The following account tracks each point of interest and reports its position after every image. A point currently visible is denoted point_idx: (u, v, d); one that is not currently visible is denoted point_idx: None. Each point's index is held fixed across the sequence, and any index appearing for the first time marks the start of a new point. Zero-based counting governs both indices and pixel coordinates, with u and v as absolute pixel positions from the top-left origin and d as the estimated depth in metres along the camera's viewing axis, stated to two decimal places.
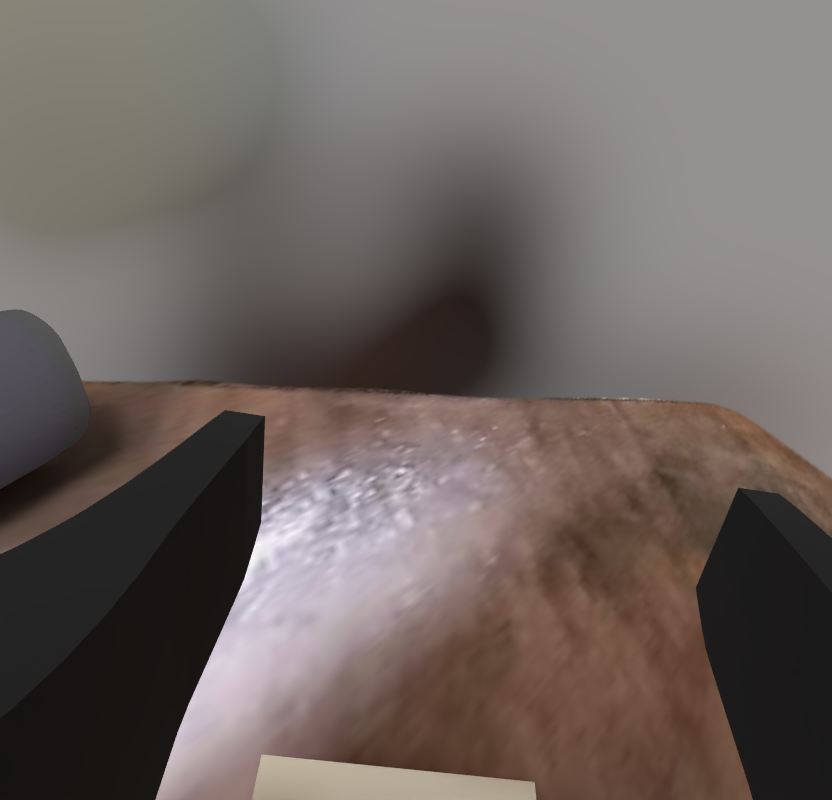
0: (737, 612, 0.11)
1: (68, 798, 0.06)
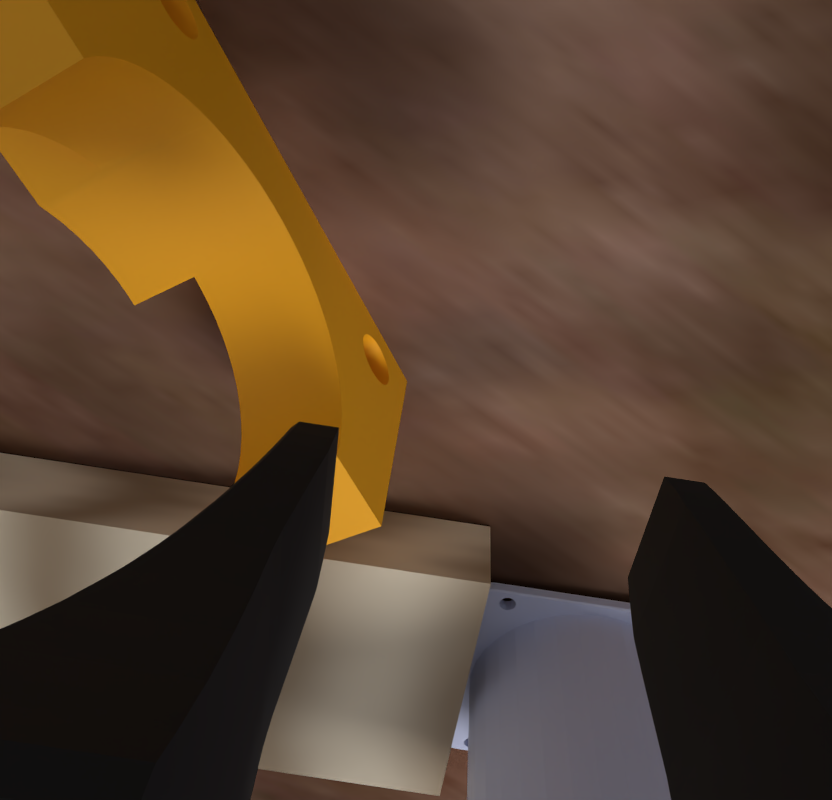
0: (660, 600, 0.11)
1: None
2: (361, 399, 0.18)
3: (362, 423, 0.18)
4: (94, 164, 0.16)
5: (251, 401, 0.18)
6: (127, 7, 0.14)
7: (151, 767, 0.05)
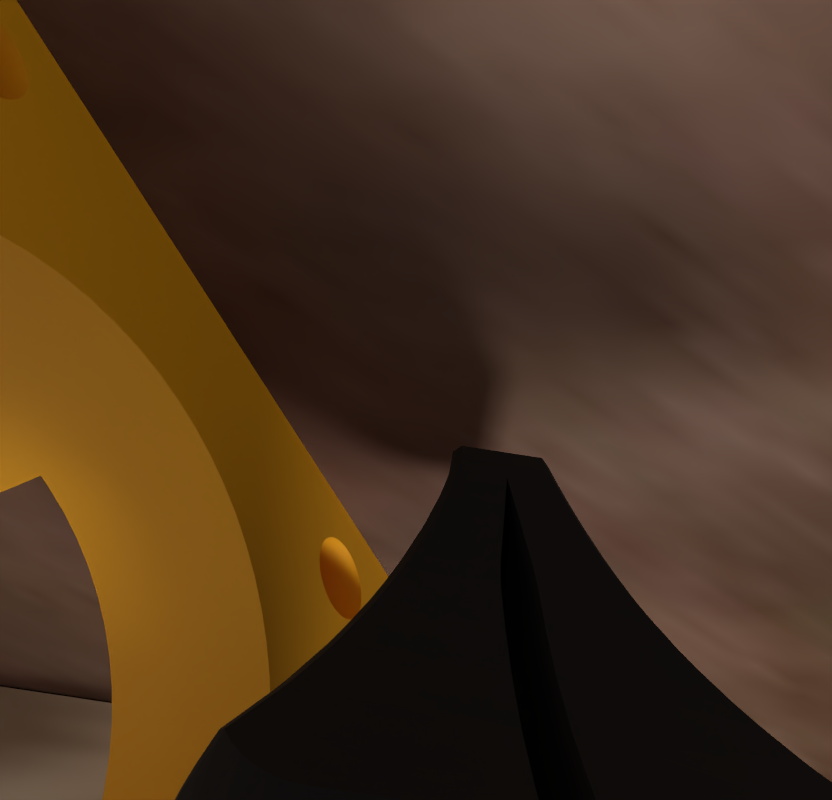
0: None
1: None
2: None
3: None
4: None
5: (129, 686, 0.11)
6: None
7: None
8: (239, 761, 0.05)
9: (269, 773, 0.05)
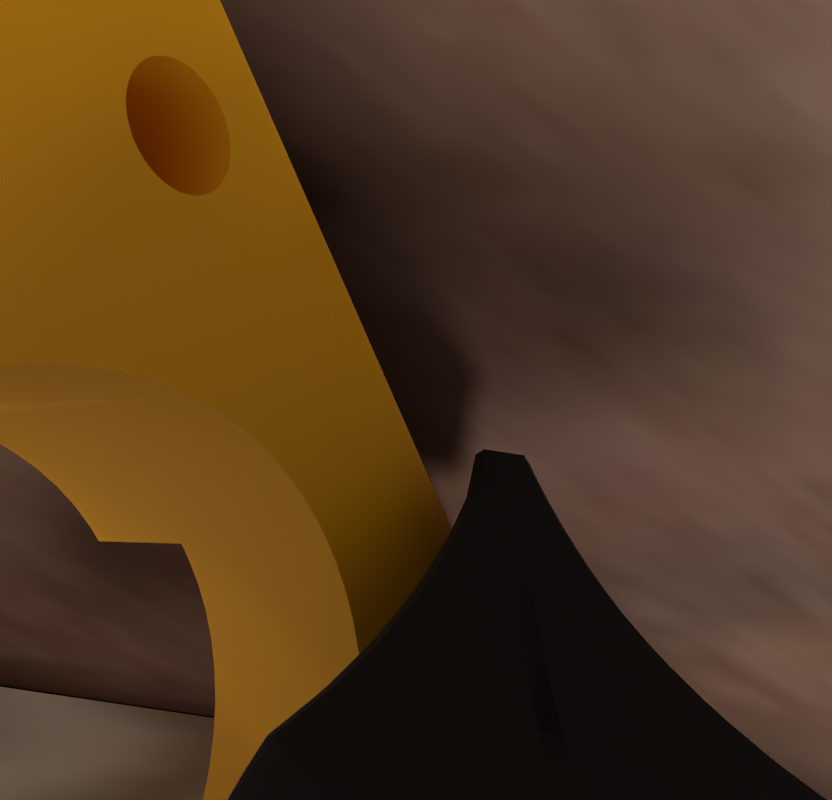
0: None
1: None
2: None
3: None
4: None
5: (225, 773, 0.11)
6: None
7: None
8: (290, 769, 0.05)
9: (322, 781, 0.05)
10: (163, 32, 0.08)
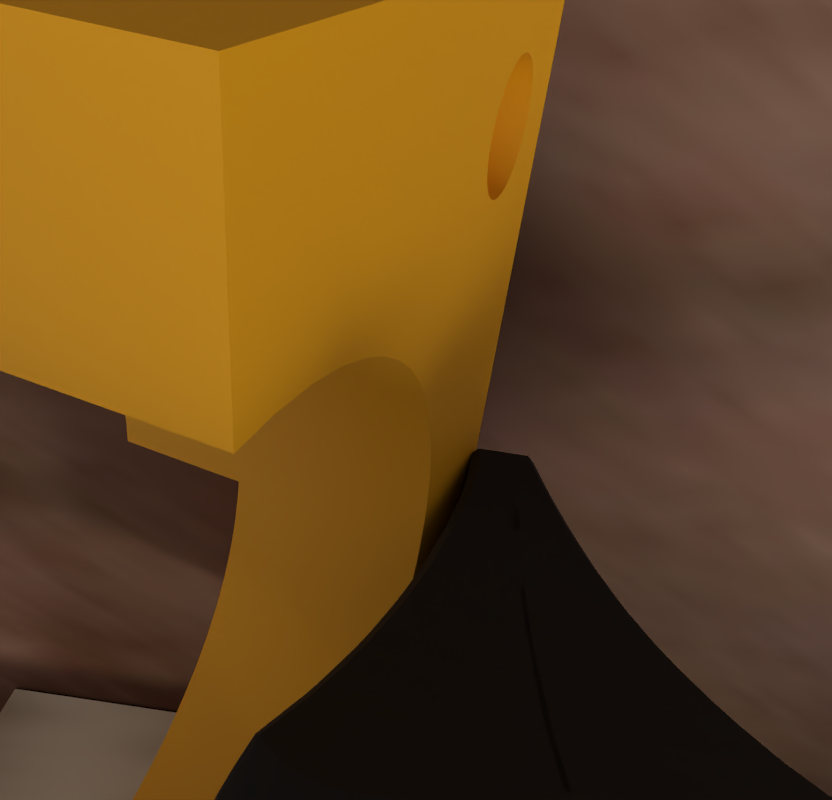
0: None
1: None
2: None
3: None
4: None
5: (201, 711, 0.11)
6: (427, 186, 0.06)
7: None
8: (278, 767, 0.05)
9: (308, 780, 0.05)
10: (536, 29, 0.07)
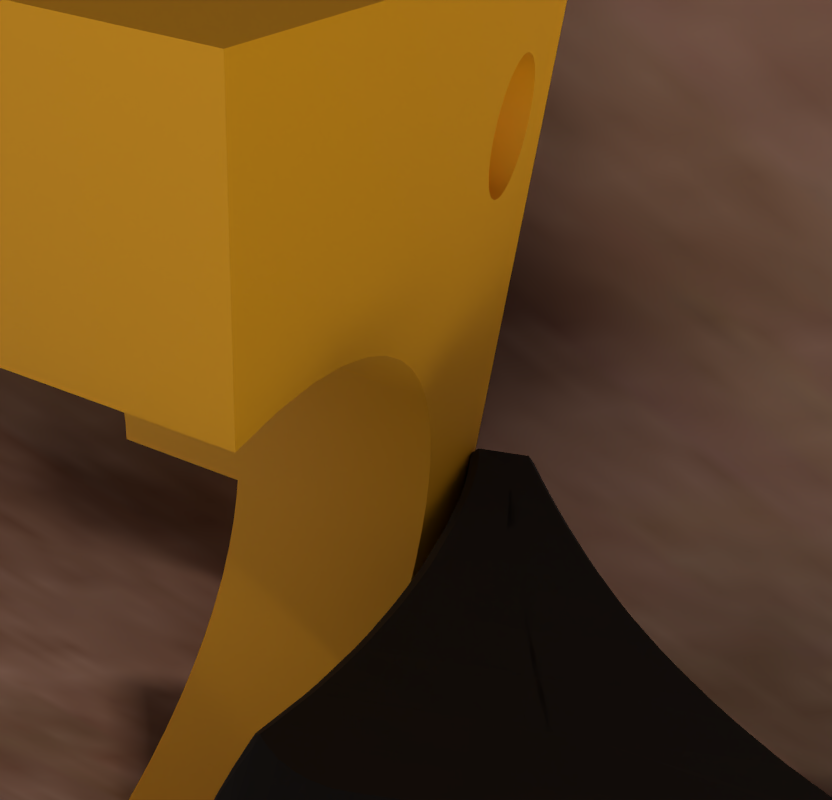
0: None
1: None
2: None
3: None
4: None
5: (198, 710, 0.11)
6: (429, 186, 0.06)
7: None
8: (277, 766, 0.05)
9: (308, 778, 0.05)
10: (538, 28, 0.07)
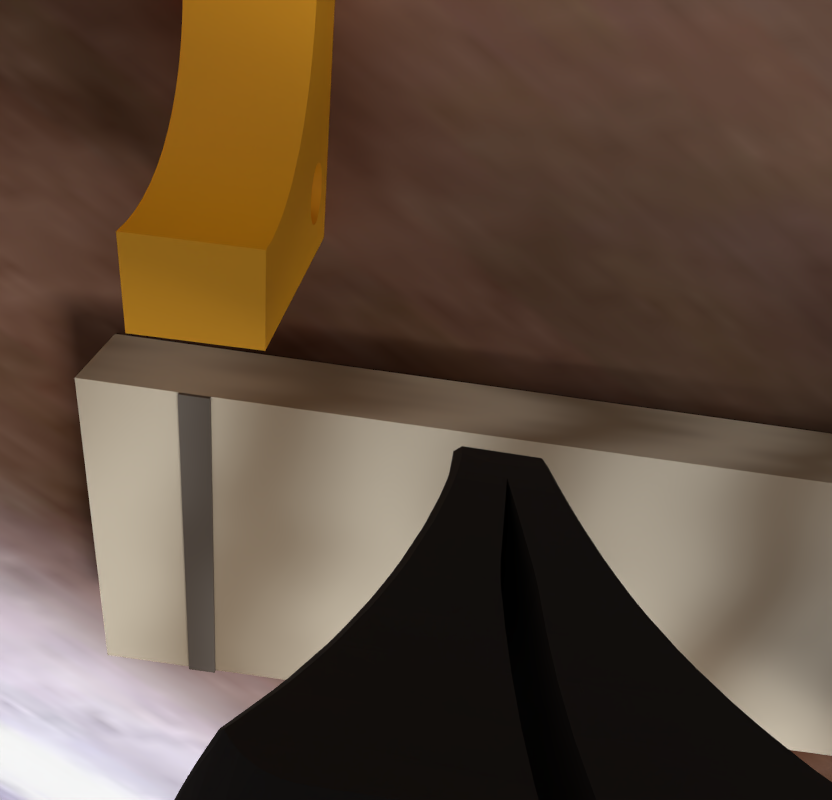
0: None
1: None
2: (297, 217, 0.16)
3: (289, 240, 0.15)
4: None
5: (178, 152, 0.15)
6: None
7: None
8: (239, 760, 0.05)
9: (268, 772, 0.05)
10: None
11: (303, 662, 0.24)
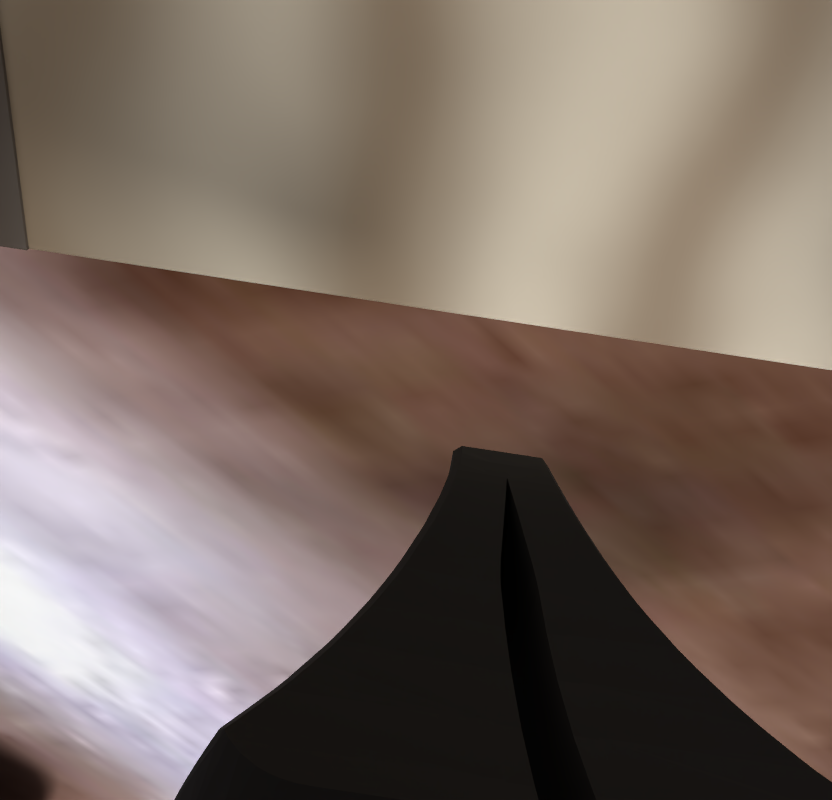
0: None
1: None
2: None
3: None
4: None
5: None
6: None
7: None
8: (239, 761, 0.05)
9: (269, 773, 0.05)
10: None
11: (145, 229, 0.18)
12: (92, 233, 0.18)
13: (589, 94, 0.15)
